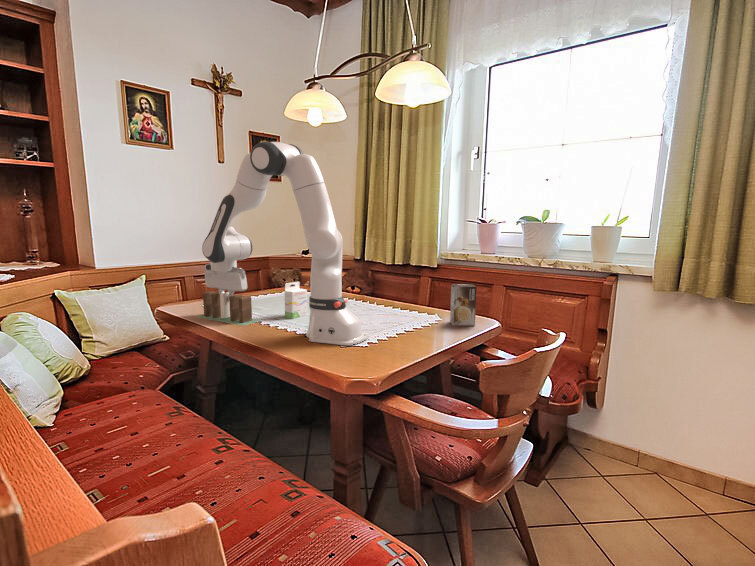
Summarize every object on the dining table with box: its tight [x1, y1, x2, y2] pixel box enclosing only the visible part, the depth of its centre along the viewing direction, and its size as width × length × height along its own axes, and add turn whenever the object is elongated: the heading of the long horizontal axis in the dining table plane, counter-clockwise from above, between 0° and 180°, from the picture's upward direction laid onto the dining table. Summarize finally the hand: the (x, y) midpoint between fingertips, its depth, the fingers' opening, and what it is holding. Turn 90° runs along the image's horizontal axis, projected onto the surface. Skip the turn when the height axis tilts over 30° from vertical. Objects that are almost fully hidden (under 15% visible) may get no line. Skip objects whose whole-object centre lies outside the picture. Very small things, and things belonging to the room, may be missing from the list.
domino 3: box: [229, 294, 243, 321], centre depth 161 cm, size 2×5×10 cm, turn 153°
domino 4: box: [239, 295, 253, 323], centre depth 159 cm, size 2×5×10 cm, turn 153°
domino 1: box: [202, 290, 217, 317], centre depth 168 cm, size 2×5×10 cm, turn 153°
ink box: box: [284, 281, 308, 320], centre depth 169 cm, size 9×5×15 cm, turn 143°
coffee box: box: [449, 283, 478, 326], centre depth 162 cm, size 9×6×16 cm
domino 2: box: [211, 292, 221, 318], centre depth 166 cm, size 2×5×10 cm, turn 153°
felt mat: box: [197, 314, 262, 327], centre depth 164 cm, size 27×10×1 cm, turn 63°
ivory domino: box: [220, 291, 230, 318], centre depth 163 cm, size 2×5×10 cm, turn 153°
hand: (226, 299), depth 163 cm, fingers closed on ivory domino, 2 cm apart
